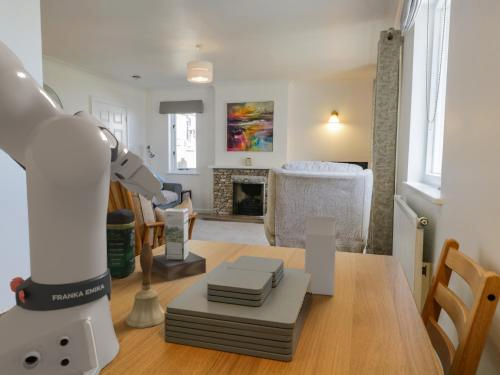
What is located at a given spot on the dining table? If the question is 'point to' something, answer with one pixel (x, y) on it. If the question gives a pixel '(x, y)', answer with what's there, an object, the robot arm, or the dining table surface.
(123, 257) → the coffee jar
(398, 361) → the dining table surface
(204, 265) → the podium
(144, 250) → the hand bell
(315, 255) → the milk carton
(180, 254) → the syrup box
